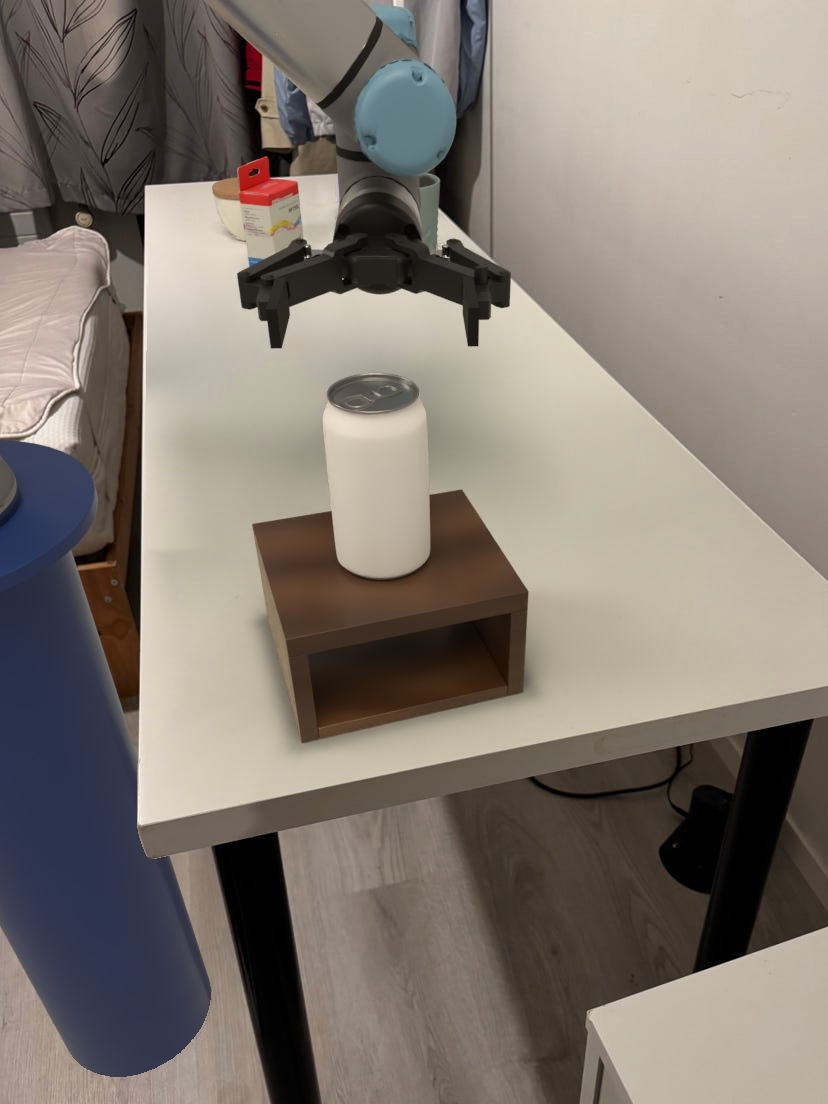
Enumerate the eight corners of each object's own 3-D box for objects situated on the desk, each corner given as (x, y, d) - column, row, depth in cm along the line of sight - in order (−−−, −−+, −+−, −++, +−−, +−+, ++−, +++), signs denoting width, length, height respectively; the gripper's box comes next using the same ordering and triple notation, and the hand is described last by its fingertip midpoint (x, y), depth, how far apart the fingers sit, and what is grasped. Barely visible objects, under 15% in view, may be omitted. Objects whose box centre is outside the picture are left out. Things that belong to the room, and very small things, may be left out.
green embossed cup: (447, 257, 144) (446, 172, 136) (433, 278, 136) (431, 190, 128) (383, 253, 145) (379, 169, 137) (366, 273, 137) (360, 186, 130)
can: (317, 553, 64) (298, 389, 56) (391, 520, 67) (382, 361, 60) (375, 595, 60) (362, 425, 53) (450, 557, 64) (448, 393, 56)
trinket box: (281, 224, 157) (273, 163, 151) (291, 242, 149) (284, 179, 143) (216, 229, 154) (206, 167, 148) (223, 248, 146) (213, 183, 140)
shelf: (268, 621, 73) (251, 523, 67) (462, 584, 77) (462, 488, 71) (301, 743, 62) (285, 640, 57) (523, 692, 66) (528, 591, 61)
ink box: (279, 282, 134) (265, 171, 125) (249, 278, 135) (233, 167, 126) (307, 264, 140) (296, 157, 131) (278, 261, 141) (265, 154, 132)
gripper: (520, 280, 83) (551, 378, 67) (238, 282, 81) (198, 382, 65) (524, 190, 78) (558, 271, 62) (224, 189, 77) (178, 272, 60)
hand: (374, 328), depth 63 cm, fingers open, 13 cm apart
